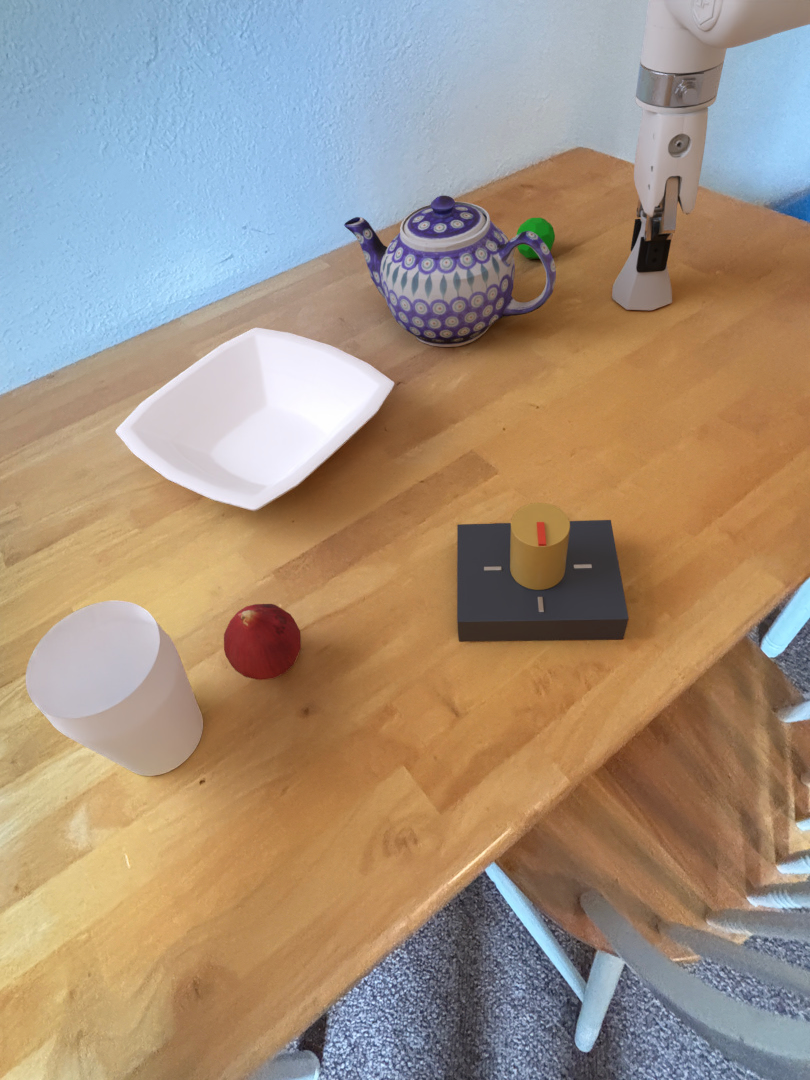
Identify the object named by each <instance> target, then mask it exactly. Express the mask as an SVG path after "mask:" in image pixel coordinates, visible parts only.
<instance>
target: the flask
mask: <svg viewBox="0 0 810 1080" xmlns="http://www.w3.org/2000/svg"><path fill="white" fill-rule="evenodd" d="M646 218H647V214H646V213H645V212H644V210H643V211H641V218H640V219H641V222H642V225H641V230H640V233H639V236H638V239H637V242H636V244H635V246H634V248H633V250H632V252H631V251H630V253H629V256H628V257H627V260H626V261H625V263H624V265H623V267H622V268H621V270H620V272H619V274H618V275H617V277H616V279H615V281H614V283H613V284H612V293H611V299H612V300H613V301H615V302H616V303H618V304H619V305H620V306H621V307H623V309H625V310H627V311H654V310H656V309H657V310H658V309H659V308H662V307H664V306H665V307H666V306H667V305H670V304H672V303H673V288H672V283H671V278H670V273H669V268H668V264H667V265H666V269H665V270H664V271H658V272H643V273H639V272H637V270H636V265H637V259H638V252H639V246H640V240H641V237H644V233H645V226H646ZM661 218H662V217H659V218H654V221H653V225H654V224H655V223H656V222H660V221H661Z"/></svg>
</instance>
